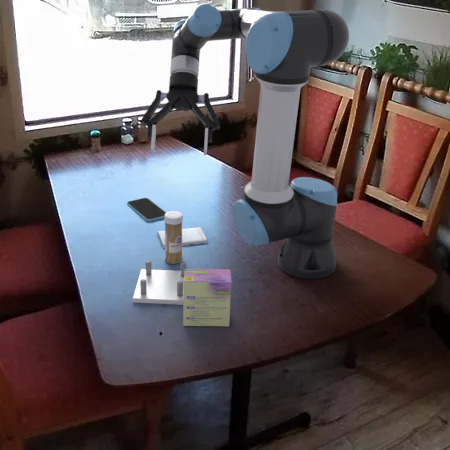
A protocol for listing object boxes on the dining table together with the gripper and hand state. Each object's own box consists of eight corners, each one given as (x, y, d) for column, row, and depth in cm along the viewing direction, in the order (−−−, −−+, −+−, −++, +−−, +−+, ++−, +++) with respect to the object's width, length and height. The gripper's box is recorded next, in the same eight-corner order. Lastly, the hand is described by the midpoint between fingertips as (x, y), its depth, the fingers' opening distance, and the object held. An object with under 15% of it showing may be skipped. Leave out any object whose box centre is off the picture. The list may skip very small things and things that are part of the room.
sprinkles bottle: (176, 266, 165) (176, 219, 159) (161, 261, 167) (160, 215, 161) (185, 258, 169) (186, 213, 163) (171, 254, 171) (171, 208, 165)
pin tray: (192, 275, 162) (193, 259, 160) (188, 304, 150) (188, 287, 148) (141, 273, 162) (140, 257, 160) (133, 302, 150) (132, 285, 148)
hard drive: (162, 244, 173) (207, 239, 176) (157, 230, 180) (200, 225, 183) (163, 249, 174) (207, 244, 177) (157, 235, 181) (200, 231, 184)
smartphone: (146, 197, 201) (169, 214, 190) (147, 200, 201) (169, 218, 190) (125, 201, 197) (147, 220, 186) (125, 205, 198) (147, 223, 187)
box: (228, 312, 148) (230, 268, 143) (229, 327, 143) (231, 282, 138) (183, 311, 148) (183, 267, 142) (182, 326, 143) (182, 281, 137)
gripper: (230, 86, 175) (226, 159, 170) (138, 80, 174) (132, 154, 169) (231, 73, 168) (227, 149, 162) (135, 67, 167) (128, 143, 162)
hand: (179, 152), depth 166 cm, fingers open, 13 cm apart
